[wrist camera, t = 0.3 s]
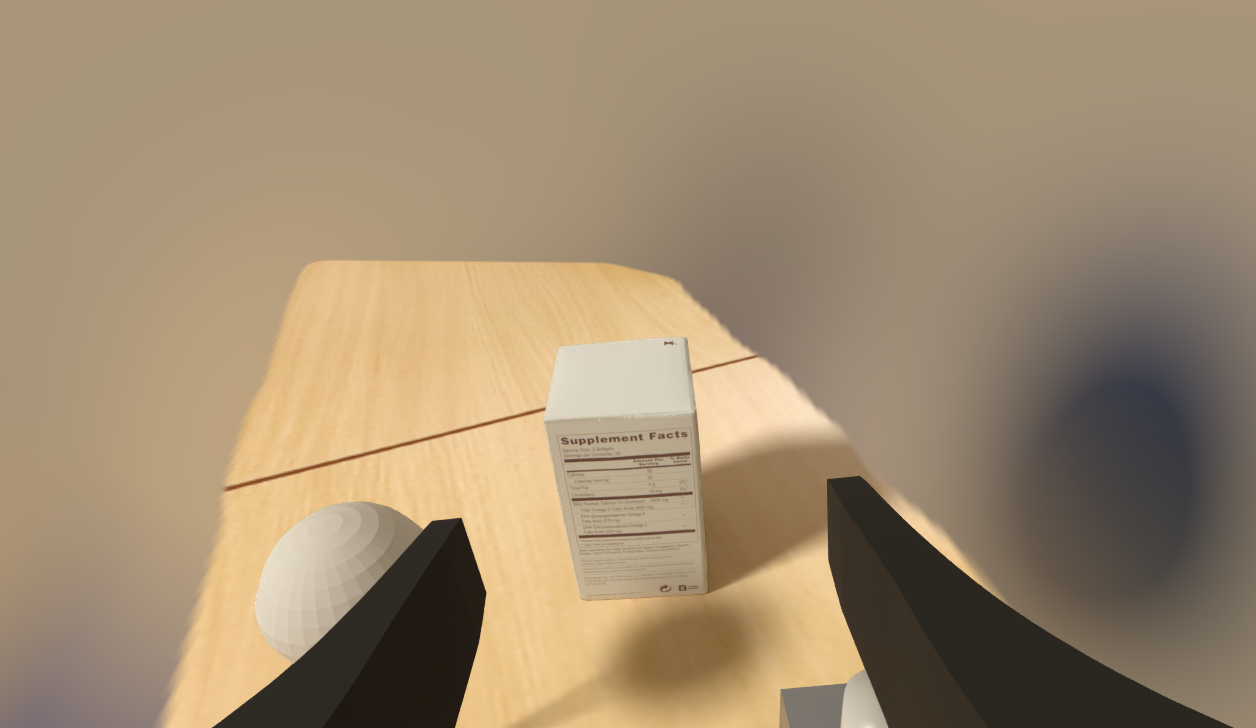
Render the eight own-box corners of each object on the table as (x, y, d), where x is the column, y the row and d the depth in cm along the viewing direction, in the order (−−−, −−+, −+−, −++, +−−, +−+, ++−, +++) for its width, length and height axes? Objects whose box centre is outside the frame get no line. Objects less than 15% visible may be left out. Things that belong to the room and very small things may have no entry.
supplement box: (586, 512, 44) (557, 342, 37) (701, 505, 43) (690, 332, 37) (576, 605, 37) (538, 419, 31) (710, 599, 37) (699, 408, 30)
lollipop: (506, 700, 33) (430, 457, 25) (499, 832, 28) (401, 578, 20) (379, 720, 33) (263, 481, 25) (347, 857, 27) (190, 609, 20)
